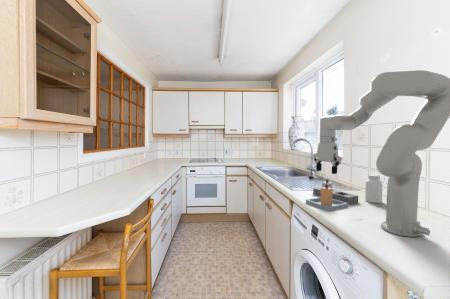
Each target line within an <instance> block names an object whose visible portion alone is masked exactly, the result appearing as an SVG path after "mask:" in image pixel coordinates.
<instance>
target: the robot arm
mask: <svg viewBox="0 0 450 299" xmlns="http://www.w3.org/2000/svg"><path fill="white" fill-rule="evenodd" d="M398 97H414V98H415V97H416V98H424V99H425V102H424V103H423V105H421V106H420V108H419V109H418V111H417V112H416V114H415V115H414V117H413V119H412V121H411V122H410V123H406V124H402V125H400V126H397V127H396V128H395V129H393V130H392V132H391V133H390V134H389V136H388V138H387V139H386V141H385V143H384V145H383V147H382V148H381V150H380V152H379V154H378V156H377V158H376V161H375V162H376V163H375V164H376V165H375V166H376V169H377V171H378V172H379V174H381V175H383V176H384V177H387V185H386V186H387V187H386V206H385V210H386V211H385V212H386V213H385V221H382V222H381V223H380V227H381V229H383V230H384V231H386V232H388V233H390V234H394V235H398V236H403V237H410V238H418V237H421V236H422V235H425V236H430V235H431V230H430V228H427V227H425V226H424V227H423V226H422V225H421V221H418V209H419V208H418V206H419V204H418V203H419V190H420V188H419V187H420V185H419V184H420V179H421V174H422V169H423V163H422V162H423V161H422V159H421V158H420V156H419V155H418V154H417V153H416V152H417V151H423V150H426V149H429V148H430V147H431V146H433V144H434V142H435V141H436V139H437V138H438V136H439V134H440V133H441V131H442V129H443V128H444V127H445V125H446V123H447V121H448V120H449V119H450V77H448V76H446V75H444V74H441V73H436V72H433V71H429V70H421V69H420V70H402V71H384V72H381V73H380V74H377V75H375V77H374V78H373V79H372V80H371V82H370V90H368V91H367V92H365V94H363V95H361V97H360V98H359V100H358V101H359V105H360V106H359V107H358V108H357V109H356V110H355V111H353V112H352V113H350V114H336V115H331V116H326V115H325V116H322V117H321V118H320V121H319V142H318V145H317V151H316V153H315V154H313V155H312V157H313V161H314V162H315V164H316V168H315V169H316V171H317V172H320V171H321V172H322V163H323V162H328V163H331V165H332V166H331V174H332V175H336V174H338V167H339V165H340V164H342V161H343V158H342V157H341V156H340V155H339V148H338V143H337V141H338V138H336V135H337V134H336V132H337V131H352V130H354V129H357V128H358V127H360V126H362V125H363V124H365V123H366V122H367V121H368V120H369V119H370V118H371V116H373V114H374V113H375V112H376V111H378V110H379V109H380V108H382V107H384V106H385V105H387V104H389V103H390V102H391V101H393V100H395V99H396V98H398Z"/></svg>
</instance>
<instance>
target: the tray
mask: <svg viewBox="0 0 450 299" xmlns="http://www.w3.org/2000/svg"><path fill="white" fill-rule="evenodd" d="M305 204H307V205H310V206H313V207H316V208H319V209H321V210H324V211H327V212H330V211H335V210H338V209H344V208H348V207H349V204H348V203H346V202H342V201H339V200H335V199H332V205H331V206H325V205H322V204H321V196H318V197H313V198H307V199H305Z"/></svg>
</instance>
